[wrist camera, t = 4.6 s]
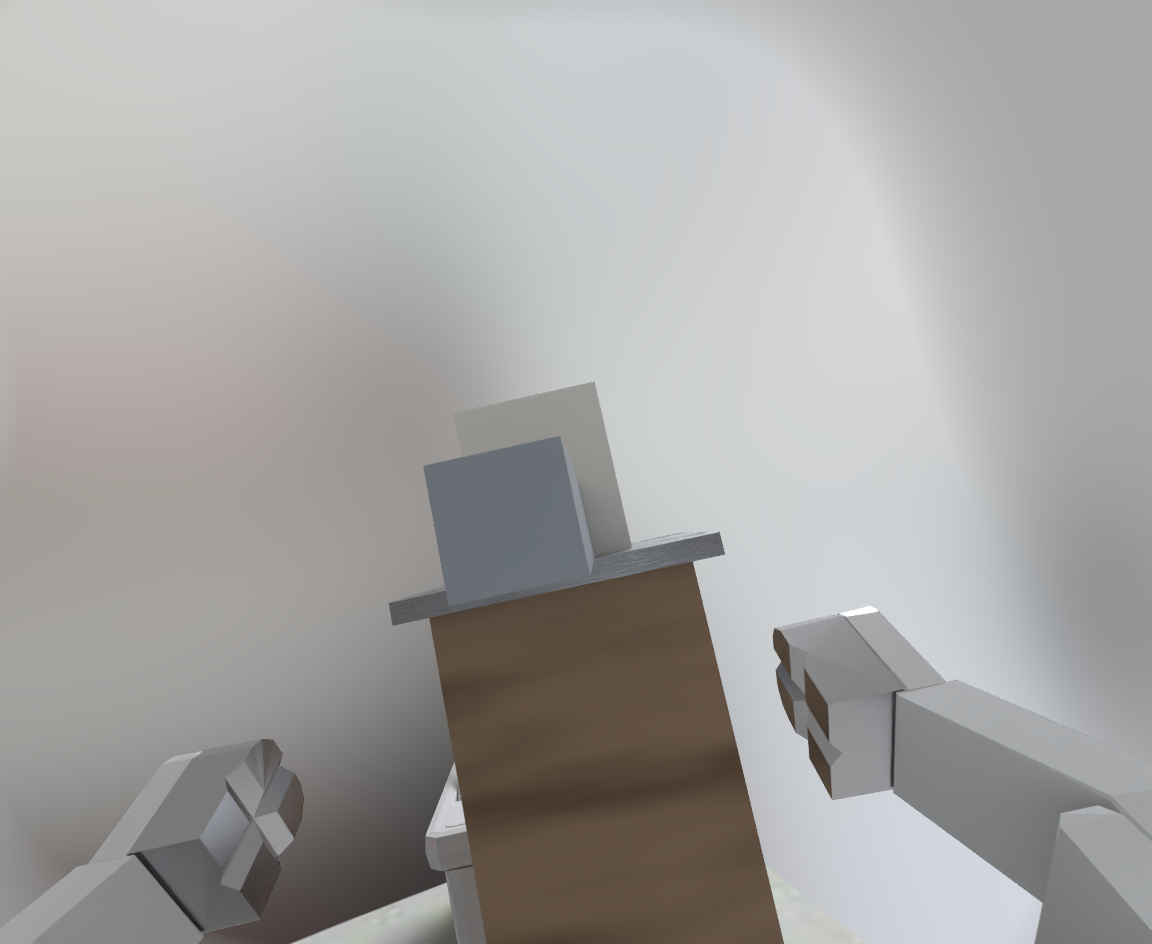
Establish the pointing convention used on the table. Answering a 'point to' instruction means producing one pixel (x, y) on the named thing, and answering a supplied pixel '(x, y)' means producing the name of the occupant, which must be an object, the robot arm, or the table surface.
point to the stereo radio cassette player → (455, 862)
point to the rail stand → (601, 757)
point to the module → (526, 495)
